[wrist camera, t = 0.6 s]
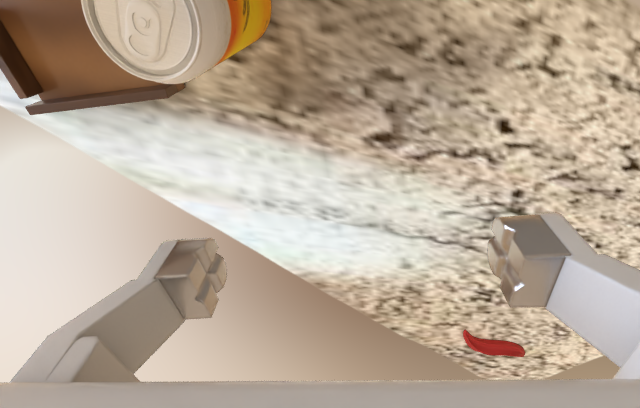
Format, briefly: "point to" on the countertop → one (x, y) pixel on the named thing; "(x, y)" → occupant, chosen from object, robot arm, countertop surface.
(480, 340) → the cayenne pepper
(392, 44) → the countertop surface
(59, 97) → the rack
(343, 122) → the countertop surface
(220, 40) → the beer can
